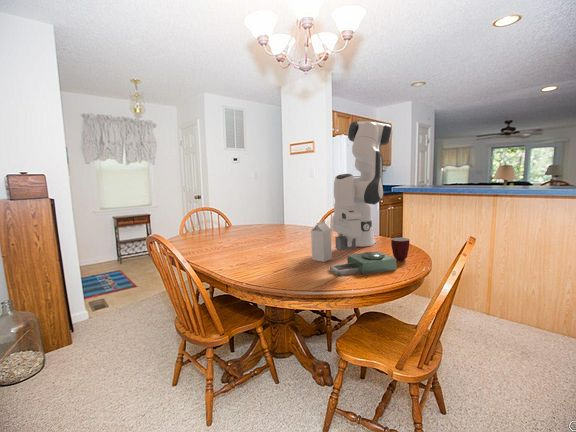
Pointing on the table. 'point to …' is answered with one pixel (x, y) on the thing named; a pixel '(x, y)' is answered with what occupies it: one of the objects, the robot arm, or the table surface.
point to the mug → (400, 248)
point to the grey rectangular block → (344, 243)
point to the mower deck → (365, 264)
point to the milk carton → (321, 242)
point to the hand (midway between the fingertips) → (345, 244)
